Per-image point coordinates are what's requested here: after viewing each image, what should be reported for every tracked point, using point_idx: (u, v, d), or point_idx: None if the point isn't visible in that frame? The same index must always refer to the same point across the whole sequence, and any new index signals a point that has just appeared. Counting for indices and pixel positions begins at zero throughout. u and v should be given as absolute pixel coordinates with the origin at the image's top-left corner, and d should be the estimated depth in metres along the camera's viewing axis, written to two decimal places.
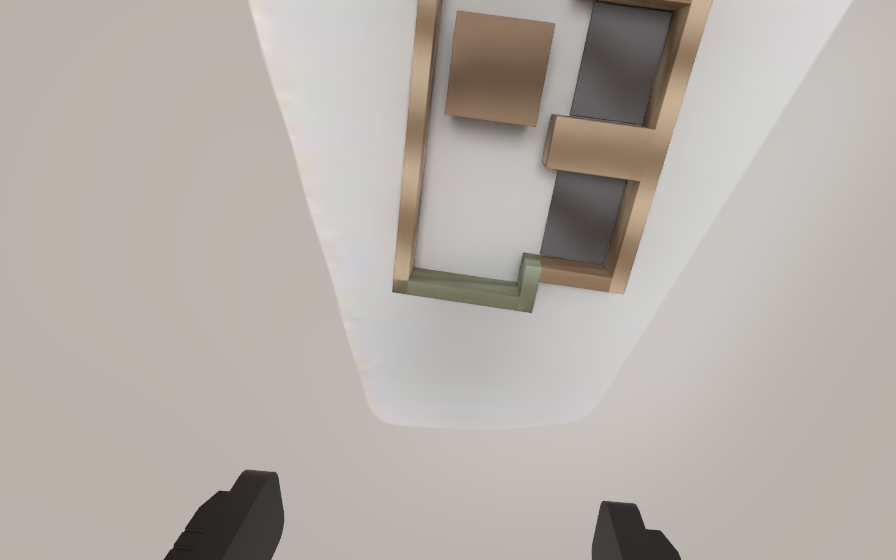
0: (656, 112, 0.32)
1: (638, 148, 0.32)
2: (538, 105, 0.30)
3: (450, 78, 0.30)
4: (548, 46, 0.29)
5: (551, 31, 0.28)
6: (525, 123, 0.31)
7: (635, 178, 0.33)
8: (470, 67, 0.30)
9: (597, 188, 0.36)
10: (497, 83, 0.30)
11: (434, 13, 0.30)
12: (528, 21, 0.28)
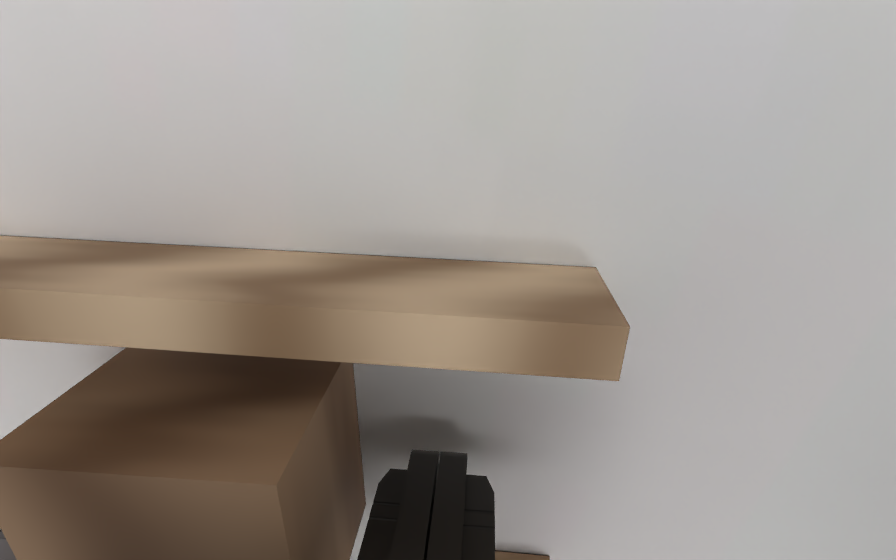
0: None
1: None
2: None
3: (77, 475, 0.09)
4: None
5: None
6: None
7: None
8: (135, 523, 0.09)
9: None
10: None
11: (310, 357, 0.09)
12: None
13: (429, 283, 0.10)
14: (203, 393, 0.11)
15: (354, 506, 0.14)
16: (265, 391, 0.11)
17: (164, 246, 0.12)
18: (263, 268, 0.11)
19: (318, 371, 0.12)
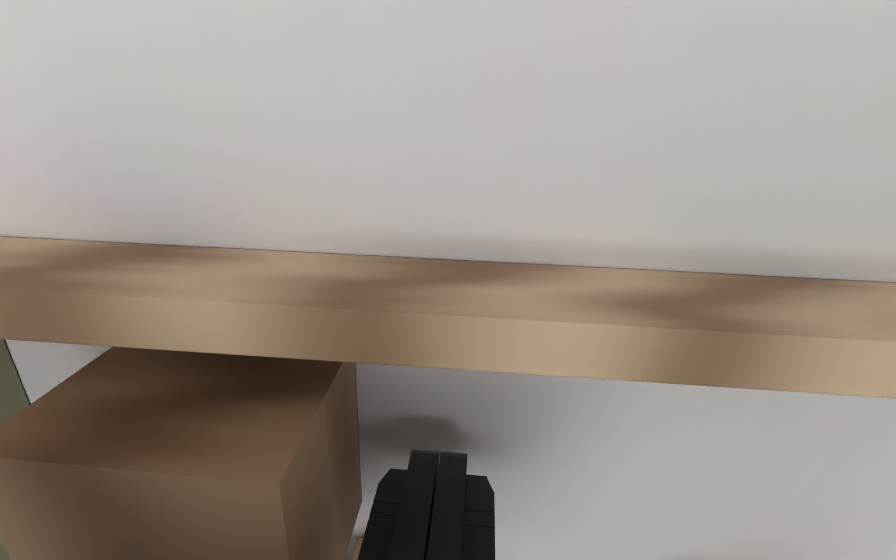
0: None
1: None
2: None
3: (74, 468, 0.08)
4: None
5: None
6: None
7: None
8: (131, 519, 0.09)
9: None
10: None
11: (736, 384, 0.09)
12: None
13: (828, 305, 0.10)
14: (203, 387, 0.11)
15: (350, 505, 0.14)
16: (266, 387, 0.11)
17: (491, 263, 0.12)
18: (633, 288, 0.10)
19: (320, 368, 0.12)
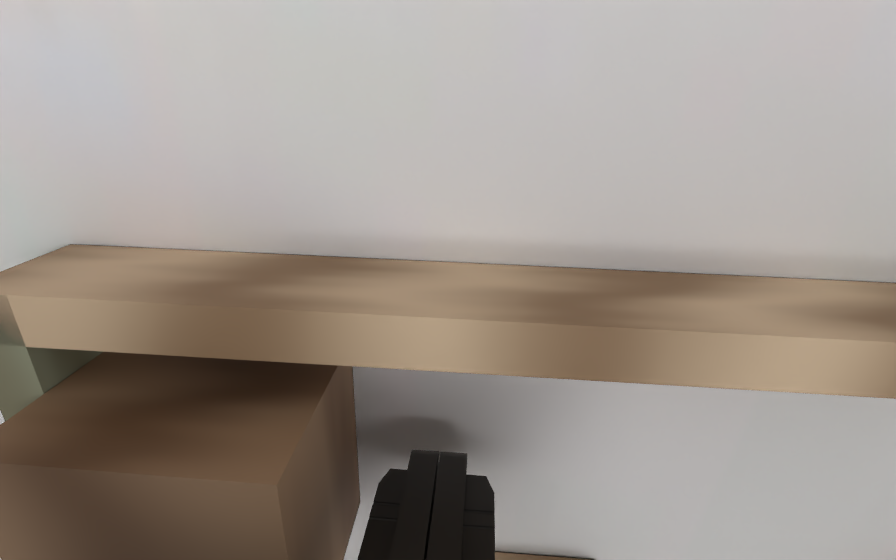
0: None
1: None
2: None
3: (69, 472, 0.08)
4: None
5: None
6: None
7: None
8: (127, 523, 0.09)
9: None
10: None
11: None
12: None
13: None
14: (199, 389, 0.11)
15: (348, 506, 0.14)
16: (263, 387, 0.11)
17: (674, 274, 0.11)
18: (842, 300, 0.10)
19: (317, 369, 0.11)
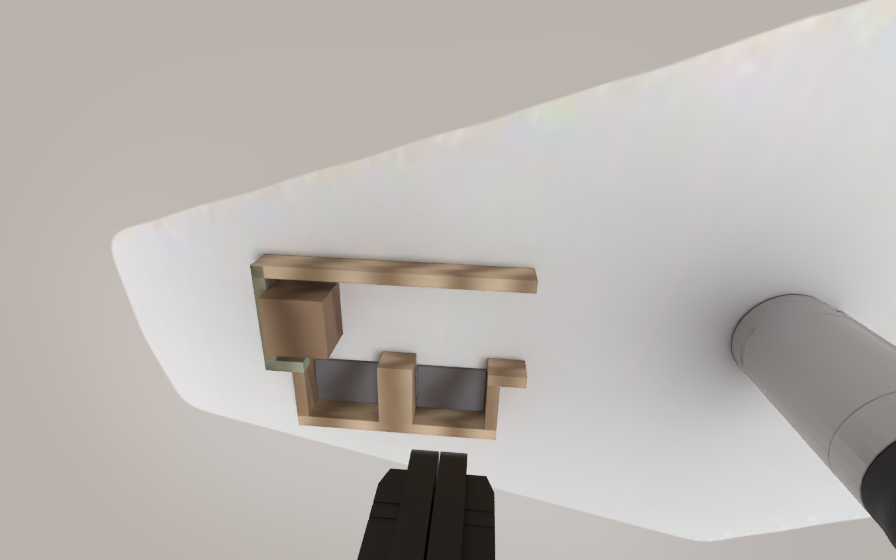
0: (423, 420, 0.49)
1: (399, 417, 0.48)
2: (279, 355, 0.44)
3: (281, 300, 0.42)
4: (314, 357, 0.44)
5: (323, 357, 0.44)
6: (266, 349, 0.44)
7: (380, 418, 0.49)
8: (291, 312, 0.42)
9: (371, 388, 0.51)
10: (286, 330, 0.43)
11: (467, 288, 0.42)
12: (325, 344, 0.43)
13: (493, 272, 0.43)
14: (302, 289, 0.44)
15: (339, 329, 0.47)
16: (317, 289, 0.44)
17: (419, 263, 0.45)
18: (451, 269, 0.43)
19: (329, 285, 0.45)
